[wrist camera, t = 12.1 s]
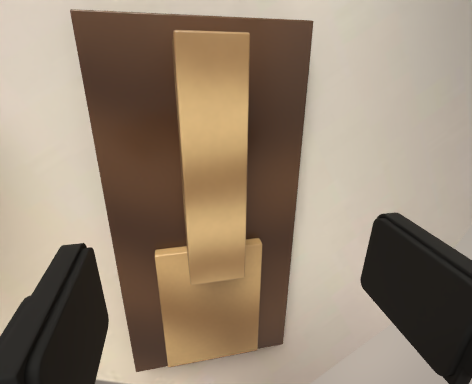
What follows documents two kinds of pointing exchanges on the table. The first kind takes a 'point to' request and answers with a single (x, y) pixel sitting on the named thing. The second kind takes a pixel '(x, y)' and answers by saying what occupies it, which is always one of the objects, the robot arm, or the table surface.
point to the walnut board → (168, 152)
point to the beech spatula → (211, 205)
